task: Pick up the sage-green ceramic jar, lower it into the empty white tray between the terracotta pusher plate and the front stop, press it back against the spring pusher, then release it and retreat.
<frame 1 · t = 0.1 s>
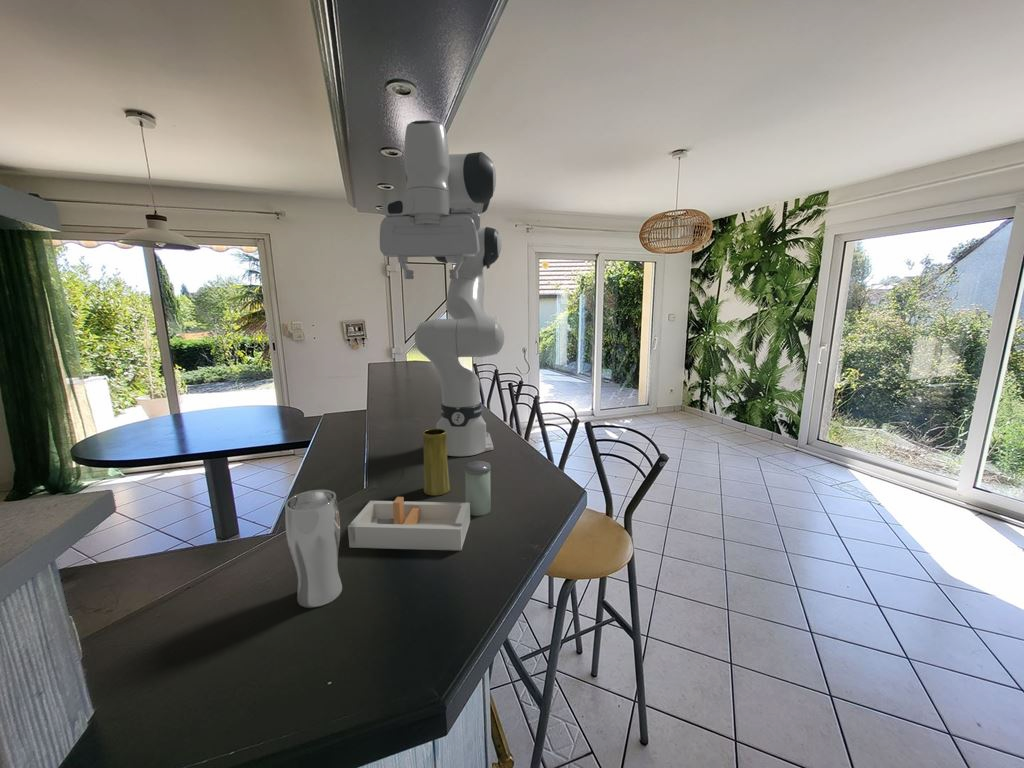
hand: (431, 279, 85), 48 cm above the breakfast bar, fingers open, 8 cm apart
pusher: (395, 513, 76), point 4 cm above the breakfast bar, slide at 0.0 cm
jar: (478, 509, 86), on the breakfast bar
vase: (436, 491, 96), on the breakfast bar
beer glass: (320, 594, 61), on the breakfast bar
white tray: (413, 533, 77), on the breakfast bar
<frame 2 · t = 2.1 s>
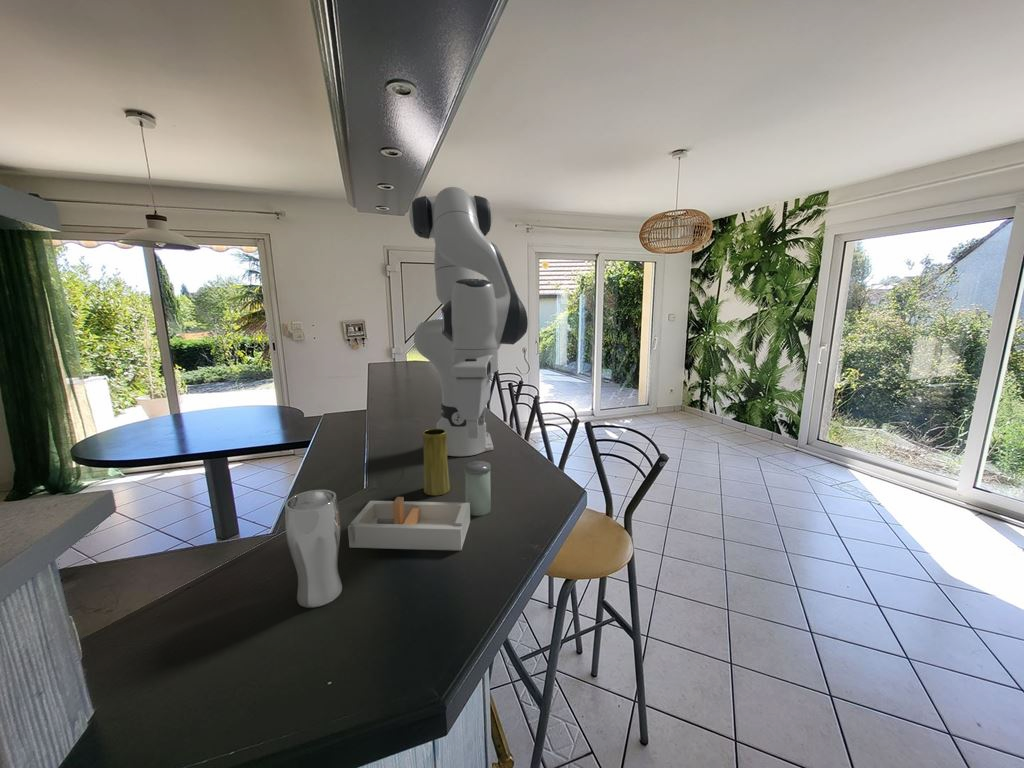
hand: (477, 430, 83), 17 cm above the breakfast bar, fingers open, 8 cm apart
nothing on the breakfast bar moved.
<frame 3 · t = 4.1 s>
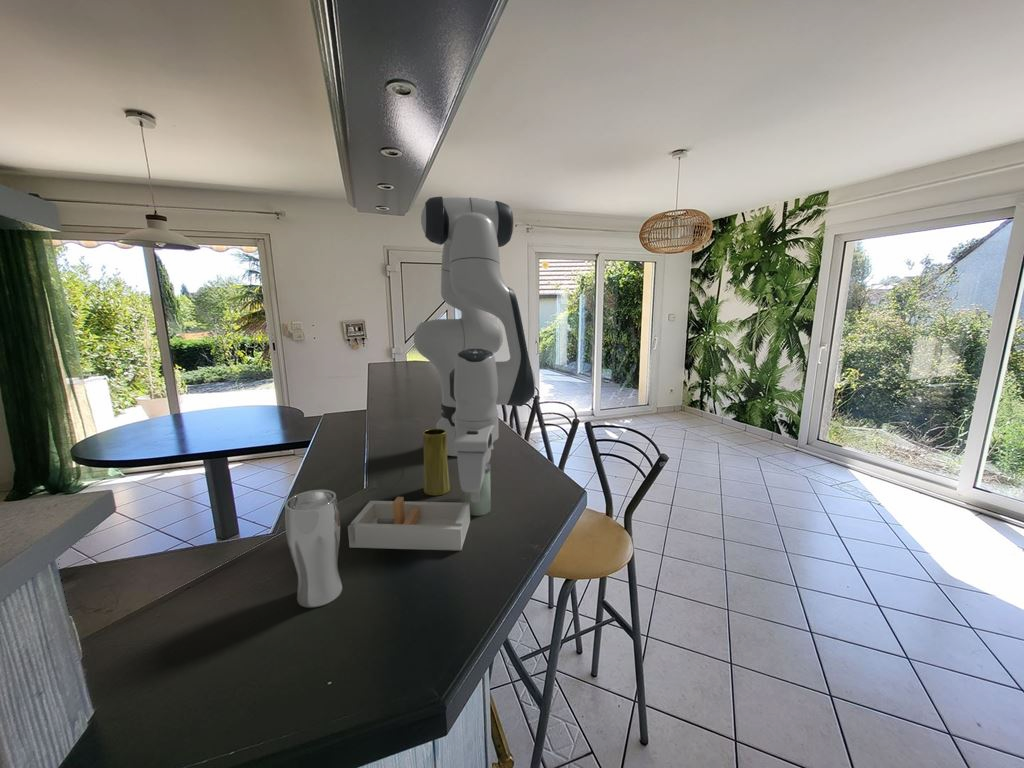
hand: (478, 493, 86), 4 cm above the breakfast bar, fingers closed on jar, 5 cm apart
jar: (478, 509, 86), on the breakfast bar, touching gripper
everything else where it was.
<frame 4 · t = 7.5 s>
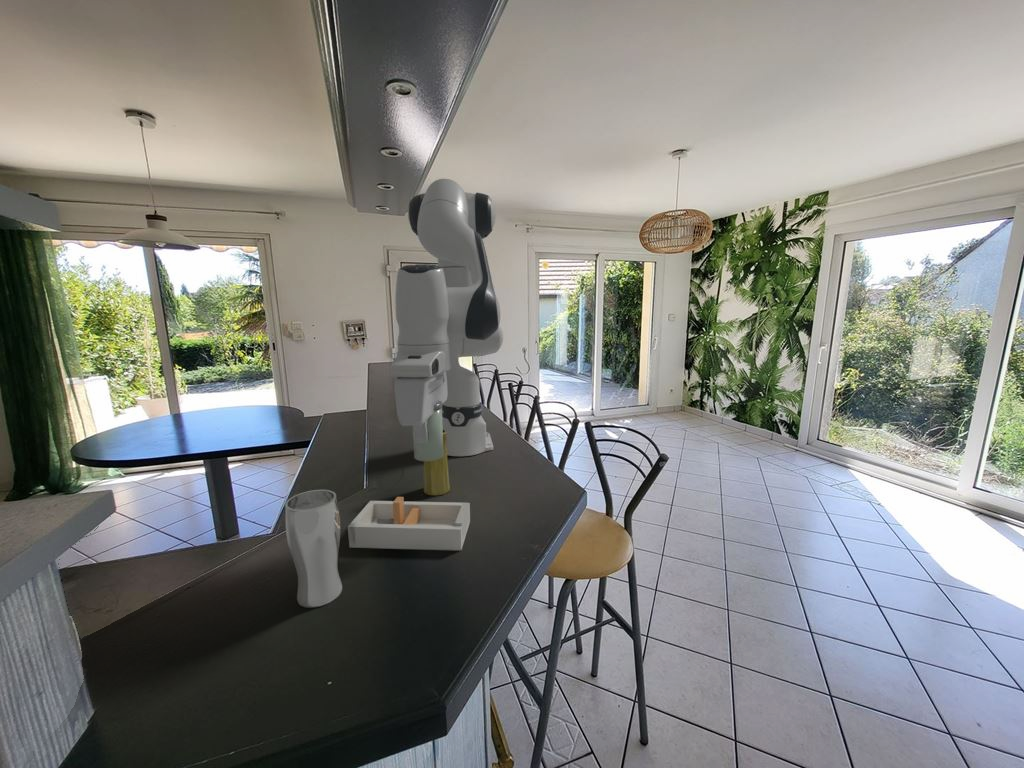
hand: (427, 436, 73), 19 cm above the breakfast bar, fingers closed on jar, 5 cm apart
jar: (429, 456, 74), point 15 cm above the breakfast bar, touching gripper
everything else where it was.
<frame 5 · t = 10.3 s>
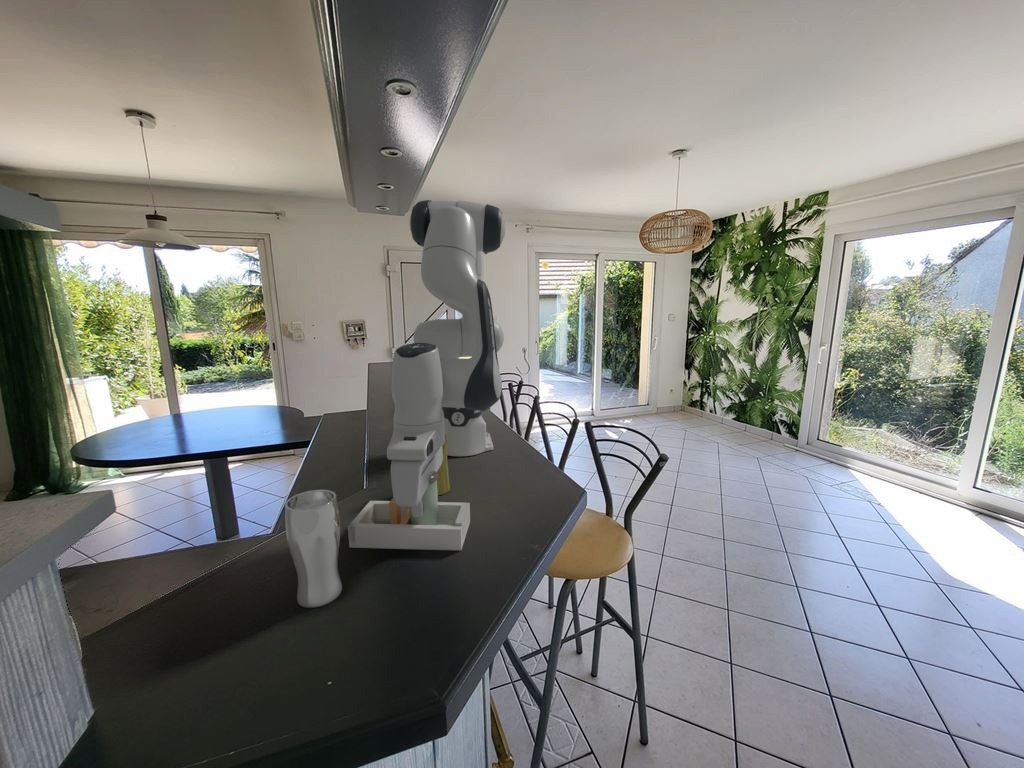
hand: (423, 506, 76), 6 cm above the breakfast bar, fingers closed on jar, 5 cm apart
pusher: (392, 513, 76), point 4 cm above the breakfast bar, slide at 0.7 cm, touching jar
jar: (424, 524, 77), point 2 cm above the breakfast bar, touching gripper, pusher
everything else where it was.
when the fingers open (6 cm above the breakfast bar, at t = 11.0 s): jar stays where it is, resting on white tray.
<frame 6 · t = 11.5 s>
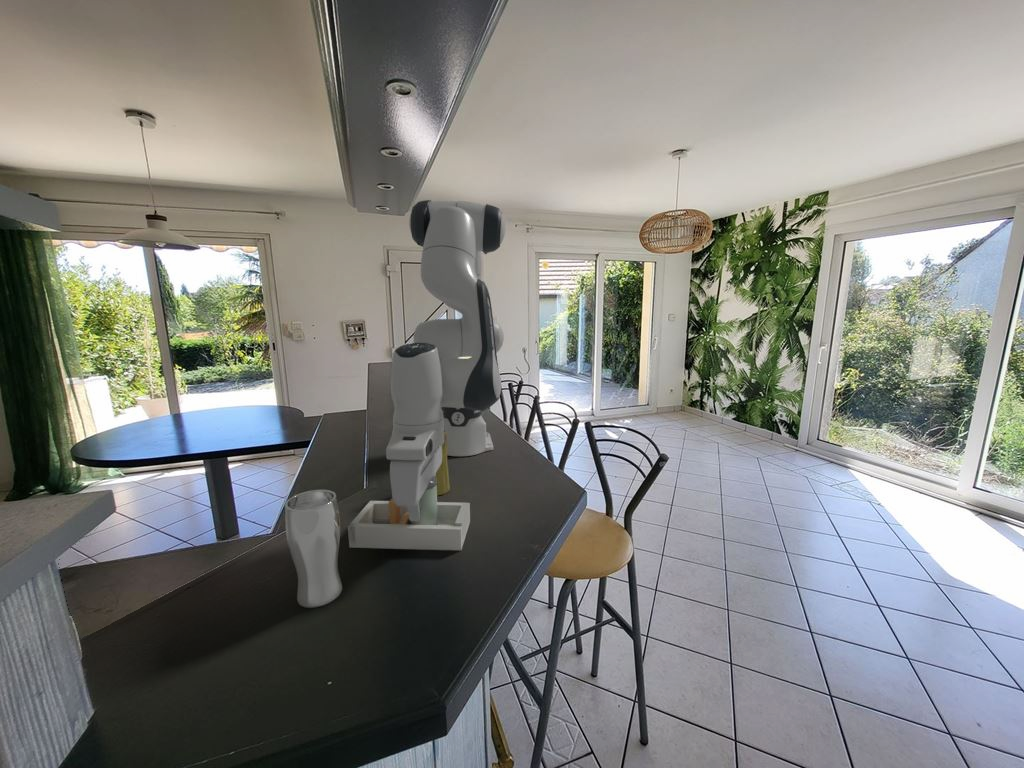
hand: (422, 506, 76), 6 cm above the breakfast bar, fingers open, 8 cm apart
pusher: (391, 513, 76), point 4 cm above the breakfast bar, slide at 0.8 cm
jar: (424, 528, 77), point 1 cm above the breakfast bar, touching white tray
everything else where it was.
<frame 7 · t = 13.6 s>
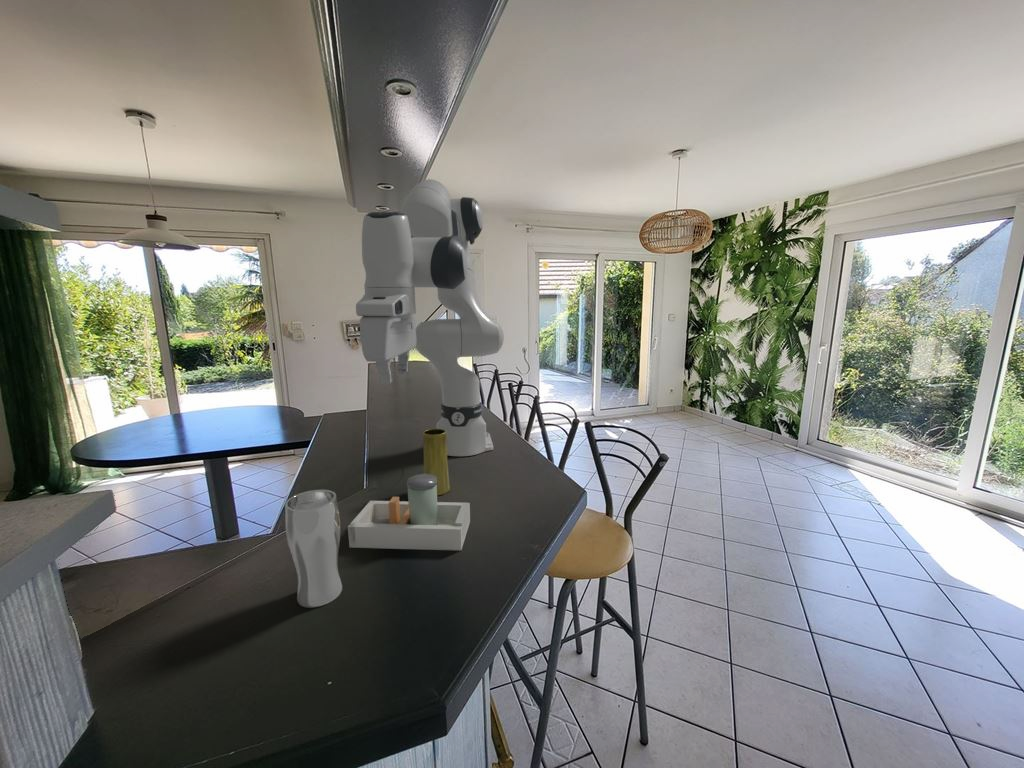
hand: (395, 378, 78), 29 cm above the breakfast bar, fingers open, 8 cm apart
nothing on the breakfast bar moved.
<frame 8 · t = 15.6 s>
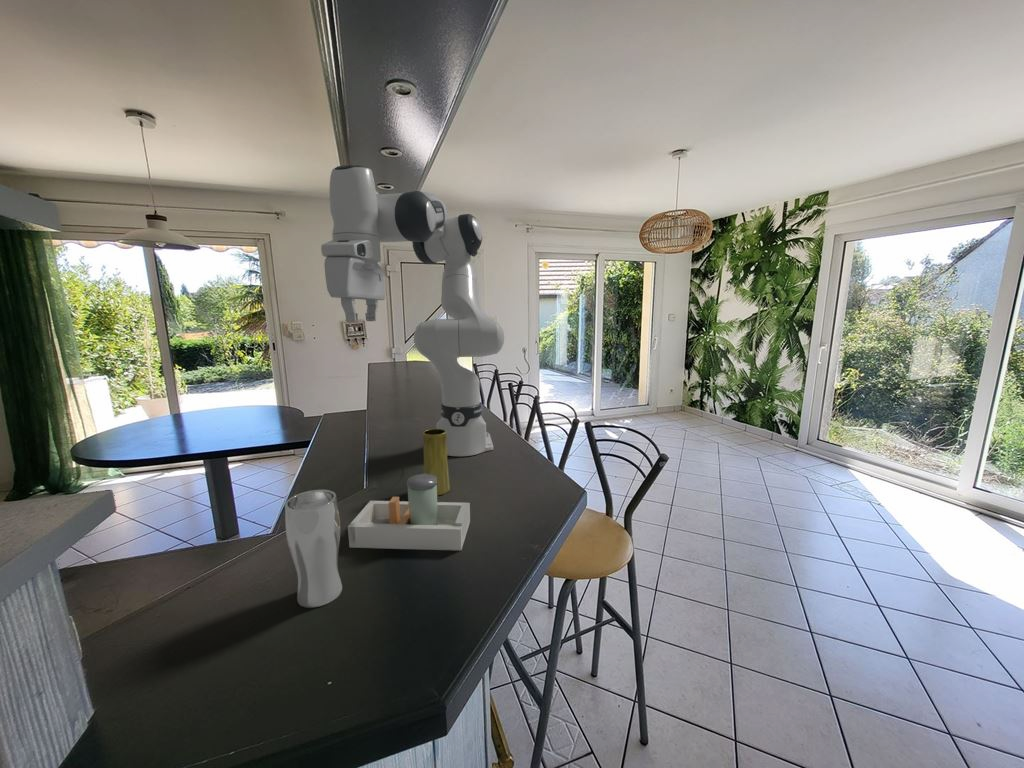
hand: (362, 321, 84), 39 cm above the breakfast bar, fingers open, 8 cm apart
nothing on the breakfast bar moved.
at the end: jar inside the target area on the white tray (1.4 cm from its centre), point 1.0 cm above the white tray's base; jar tilted 0°; the gripper is holding nothing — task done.
